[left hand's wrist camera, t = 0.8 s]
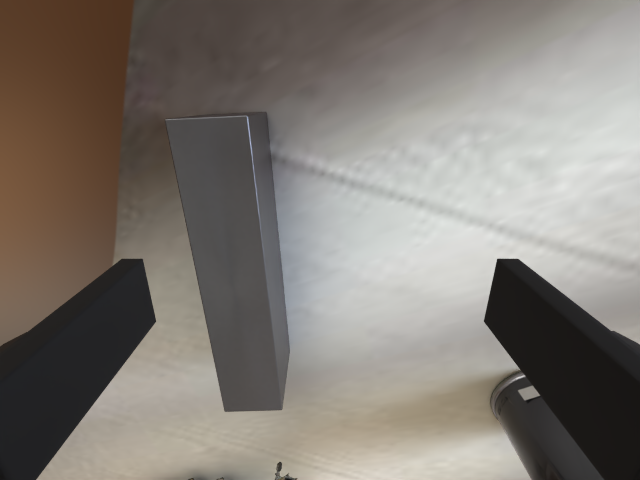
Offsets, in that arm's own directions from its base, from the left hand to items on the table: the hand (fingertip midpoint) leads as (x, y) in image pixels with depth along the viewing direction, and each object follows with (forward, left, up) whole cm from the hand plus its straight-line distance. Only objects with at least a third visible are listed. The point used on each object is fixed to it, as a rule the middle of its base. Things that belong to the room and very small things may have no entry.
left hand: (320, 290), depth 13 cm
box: (+9, -5, -22) cm, 24 cm away
